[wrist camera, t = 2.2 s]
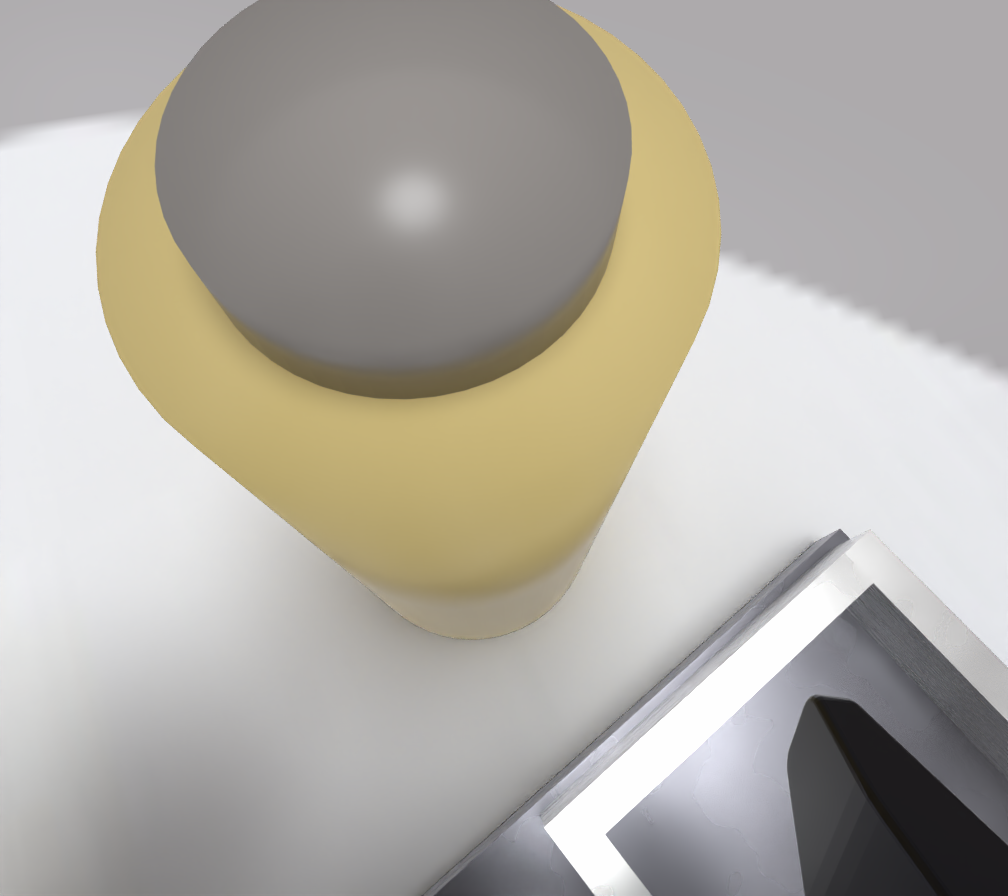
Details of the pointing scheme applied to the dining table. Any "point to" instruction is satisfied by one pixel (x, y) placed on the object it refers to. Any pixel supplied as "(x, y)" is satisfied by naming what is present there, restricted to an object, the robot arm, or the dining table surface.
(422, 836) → the dining table surface
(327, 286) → the bottle
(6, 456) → the dining table surface
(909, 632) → the motor mount
